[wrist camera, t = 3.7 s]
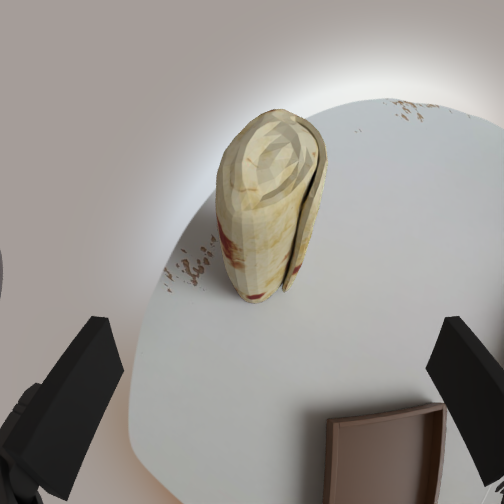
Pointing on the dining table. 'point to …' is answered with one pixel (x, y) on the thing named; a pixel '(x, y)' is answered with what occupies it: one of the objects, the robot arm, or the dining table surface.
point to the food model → (269, 201)
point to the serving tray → (386, 457)
